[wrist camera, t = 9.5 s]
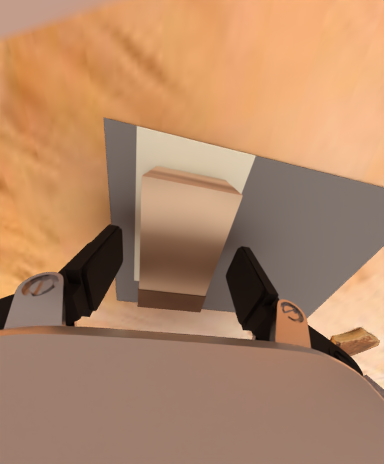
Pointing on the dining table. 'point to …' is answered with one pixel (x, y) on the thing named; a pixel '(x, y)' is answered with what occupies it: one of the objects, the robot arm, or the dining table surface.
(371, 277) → the dining table surface
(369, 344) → the shard
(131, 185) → the mat
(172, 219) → the tan tapered block
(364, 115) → the dining table surface
